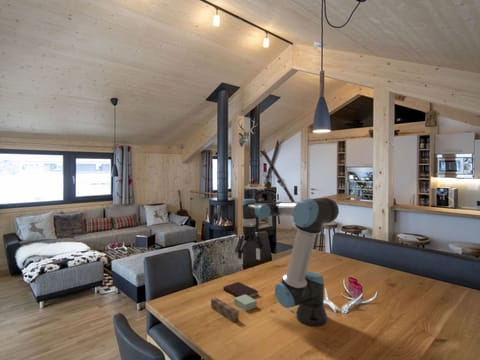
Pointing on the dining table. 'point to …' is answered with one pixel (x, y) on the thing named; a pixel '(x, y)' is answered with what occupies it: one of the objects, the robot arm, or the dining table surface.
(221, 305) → the board
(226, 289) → the book
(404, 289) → the dining table surface
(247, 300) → the block
